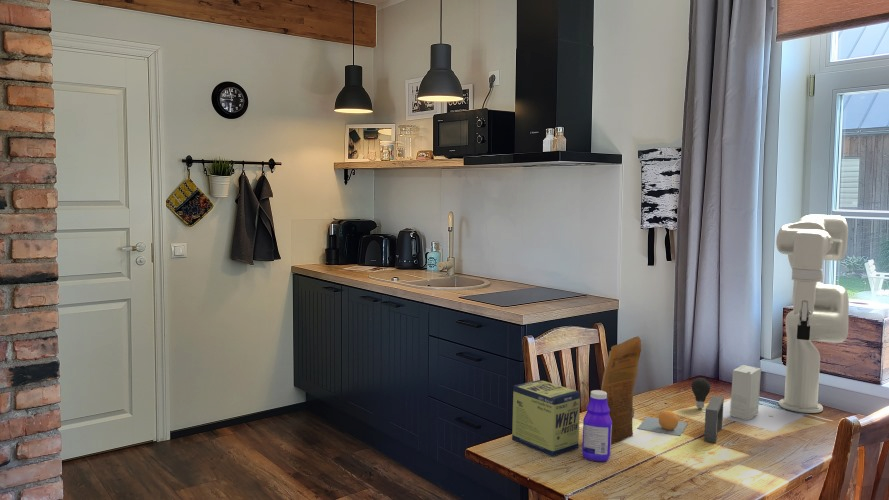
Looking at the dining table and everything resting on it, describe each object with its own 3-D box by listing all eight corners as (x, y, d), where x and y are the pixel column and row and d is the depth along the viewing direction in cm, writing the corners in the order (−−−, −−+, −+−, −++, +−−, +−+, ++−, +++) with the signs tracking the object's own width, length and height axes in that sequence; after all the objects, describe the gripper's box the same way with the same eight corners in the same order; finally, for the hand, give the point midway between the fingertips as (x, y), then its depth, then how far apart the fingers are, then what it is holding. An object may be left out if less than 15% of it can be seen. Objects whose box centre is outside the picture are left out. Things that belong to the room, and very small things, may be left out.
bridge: (704, 441, 193) (705, 409, 192) (711, 426, 206) (712, 395, 205) (715, 443, 192) (717, 410, 191) (722, 428, 205) (723, 397, 204)
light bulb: (710, 412, 219) (712, 380, 218) (691, 411, 220) (693, 379, 219) (707, 406, 225) (709, 376, 224) (689, 405, 226) (690, 375, 225)
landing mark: (646, 417, 214) (646, 416, 214) (687, 423, 208) (687, 423, 208) (637, 428, 203) (637, 428, 203) (680, 436, 197) (680, 435, 197)
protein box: (553, 457, 181) (554, 398, 179) (511, 440, 193) (512, 384, 191) (580, 448, 187) (581, 391, 186) (537, 432, 199) (538, 378, 198)
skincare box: (739, 410, 221) (741, 364, 220) (759, 414, 217) (761, 367, 216) (729, 416, 215) (731, 369, 214) (749, 421, 211) (751, 372, 210)
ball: (673, 405, 205) (682, 423, 204) (655, 412, 206) (664, 430, 206) (672, 409, 200) (681, 427, 199) (654, 417, 201) (663, 435, 200)
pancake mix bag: (646, 434, 199) (650, 336, 196) (607, 450, 186) (611, 346, 183) (625, 428, 204) (629, 332, 201) (586, 443, 191) (589, 342, 188)
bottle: (611, 456, 182) (614, 390, 180) (609, 464, 176) (611, 396, 175) (583, 452, 184) (585, 387, 183) (580, 460, 179) (582, 393, 177)
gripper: (792, 271, 207) (789, 333, 208) (790, 277, 193) (787, 342, 195) (821, 273, 203) (818, 336, 205) (821, 279, 190) (817, 345, 192)
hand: (803, 339), depth 200 cm, fingers closed
